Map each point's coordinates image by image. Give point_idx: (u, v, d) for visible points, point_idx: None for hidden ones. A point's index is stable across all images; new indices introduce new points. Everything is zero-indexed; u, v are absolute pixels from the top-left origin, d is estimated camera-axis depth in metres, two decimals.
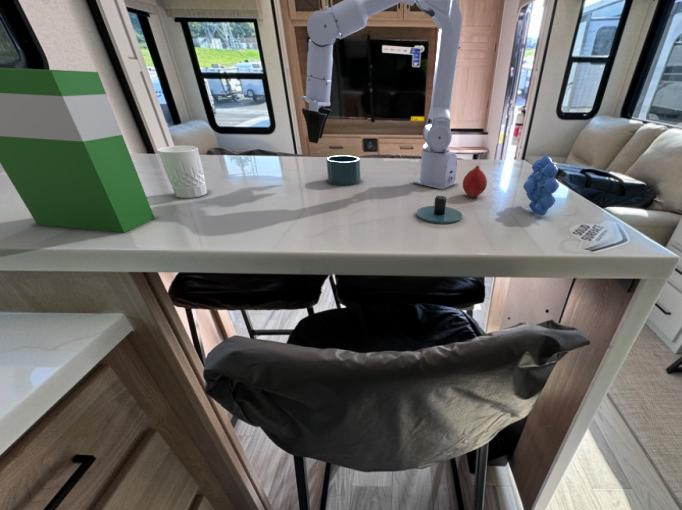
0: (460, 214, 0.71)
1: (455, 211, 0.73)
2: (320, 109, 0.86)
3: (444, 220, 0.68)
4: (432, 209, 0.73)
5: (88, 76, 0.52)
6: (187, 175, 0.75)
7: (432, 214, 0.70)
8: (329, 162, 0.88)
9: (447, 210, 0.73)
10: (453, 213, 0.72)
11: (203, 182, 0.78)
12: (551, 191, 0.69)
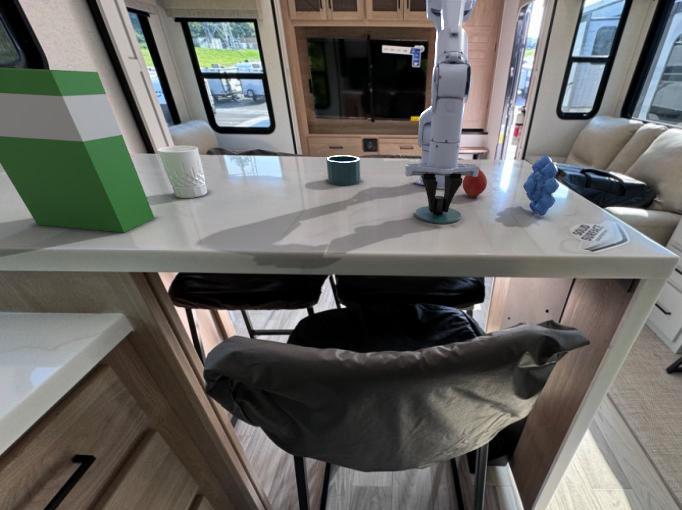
0: (459, 214, 0.71)
1: (454, 211, 0.72)
2: None
3: (443, 220, 0.68)
4: None
5: (88, 76, 0.52)
6: (187, 175, 0.75)
7: (431, 214, 0.70)
8: (329, 162, 0.88)
9: None
10: (452, 213, 0.72)
11: (203, 182, 0.78)
12: (551, 191, 0.69)
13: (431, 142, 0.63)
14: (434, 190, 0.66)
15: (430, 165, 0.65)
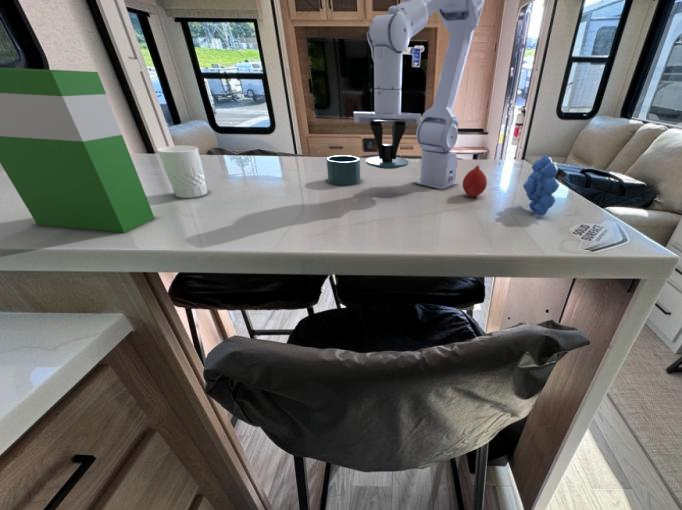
0: (406, 161, 0.78)
1: (403, 159, 0.79)
2: None
3: (390, 164, 0.74)
4: None
5: (88, 76, 0.52)
6: (187, 175, 0.75)
7: (380, 161, 0.77)
8: (329, 162, 0.88)
9: (395, 159, 0.79)
10: (400, 160, 0.78)
11: (203, 182, 0.78)
12: (551, 191, 0.69)
13: (375, 90, 0.69)
14: (380, 136, 0.73)
15: (375, 112, 0.71)
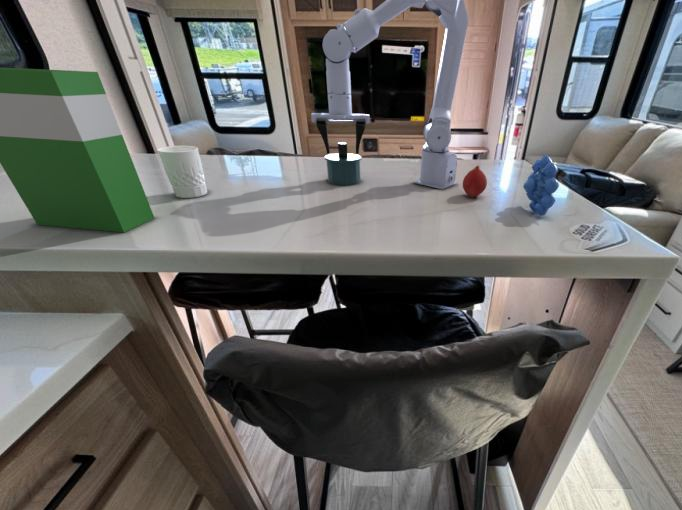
0: (359, 157, 0.90)
1: (357, 156, 0.92)
2: None
3: (343, 160, 0.87)
4: None
5: (88, 76, 0.52)
6: (187, 175, 0.75)
7: (337, 157, 0.90)
8: (329, 162, 0.88)
9: (351, 155, 0.92)
10: (355, 156, 0.91)
11: (203, 182, 0.78)
12: (551, 191, 0.69)
13: (328, 94, 0.81)
14: (325, 133, 0.85)
15: (329, 113, 0.83)
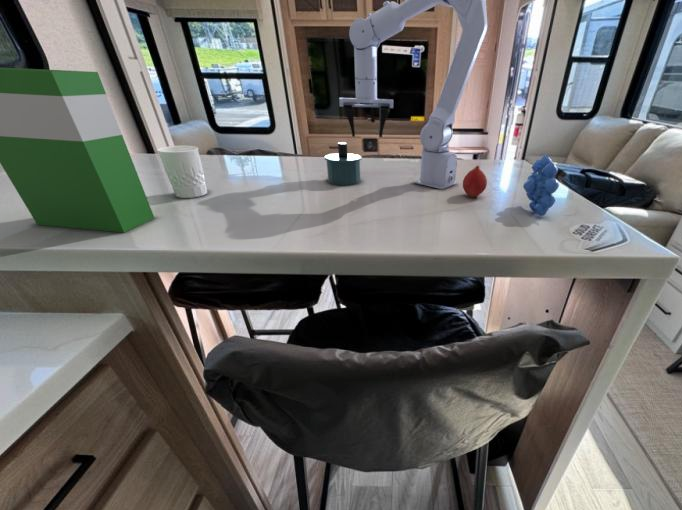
0: (359, 157, 0.90)
1: (357, 156, 0.92)
2: (352, 108, 0.91)
3: (343, 160, 0.87)
4: None
5: (88, 76, 0.52)
6: (187, 175, 0.75)
7: (337, 157, 0.90)
8: (329, 162, 0.88)
9: (351, 155, 0.92)
10: (355, 156, 0.91)
11: (203, 182, 0.78)
12: (551, 191, 0.69)
13: (355, 80, 0.87)
14: (352, 117, 0.91)
15: (356, 98, 0.89)
